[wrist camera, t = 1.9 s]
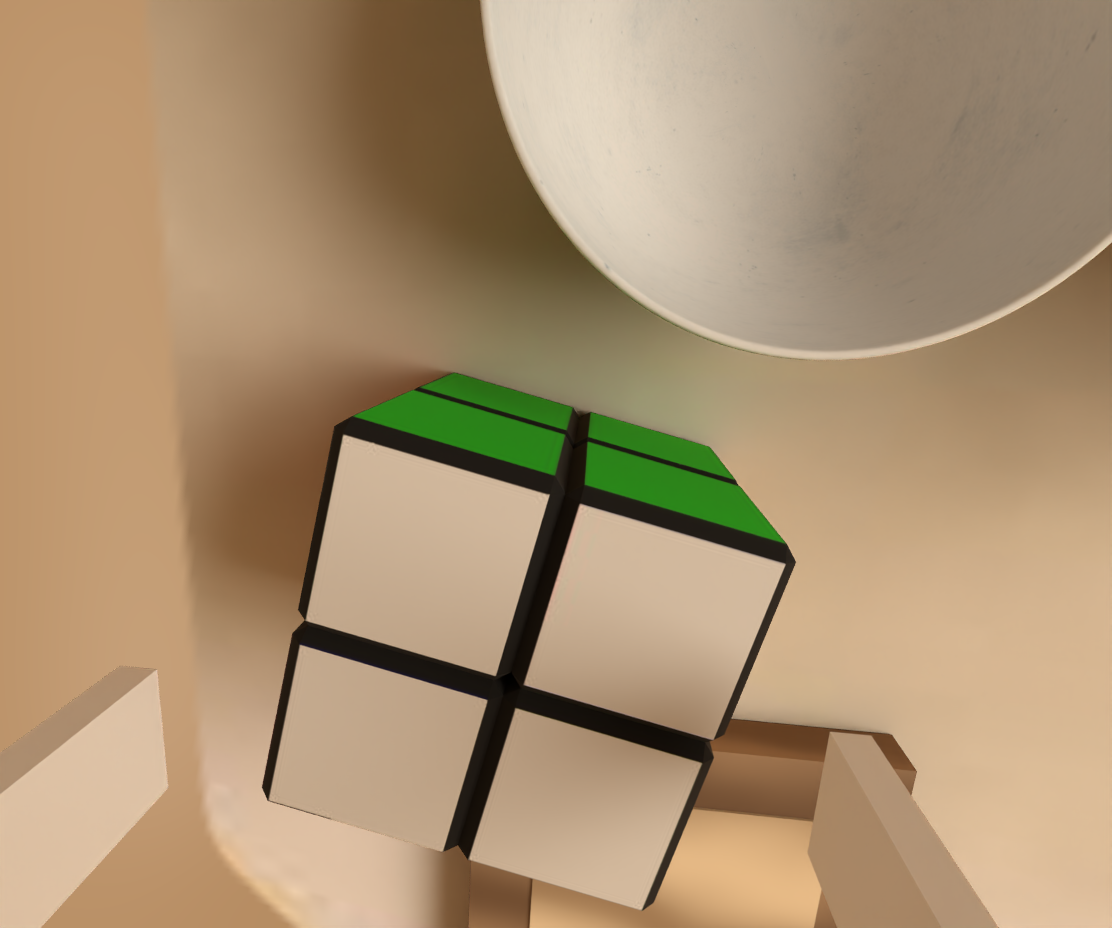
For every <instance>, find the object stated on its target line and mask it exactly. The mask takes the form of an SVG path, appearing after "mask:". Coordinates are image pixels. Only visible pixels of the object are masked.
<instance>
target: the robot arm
mask: <svg viewBox="0 0 1112 928" xmlns="http://www.w3.org/2000/svg"><path fill="white" fill-rule="evenodd" d="M167 788H168V781H167V769H166V759H165V748H164V738H163V727H162V717H161V706H160V695H159V684H158V673H157V669H149V668H138V667H127V666H119V667H118V668H116V669H115V670H113V671H112V672H111V673H109V674H108V675H107V676H105V677H104V678H102V679H101V680H100V681H98V682H97V683H96V684H94V685H93V686H91V687H90V688H89V689H87V690H86V691H85V692H83V693H82V694H81V695H79V696H78V697H76V698H75V699H74V700H72V701H71V702H69V703H68V704H67V705H65V706H64V707H63V708H61V709H60V710H58V711H57V712H56V713H54V714H53V715H52V716H50V717H49V718H48V719H46V720H45V721H43V722H42V723H41V724H39V725H38V726H37V727H35V728H34V729H32V730H31V731H30V732H28V733H27V734H25V735H24V736H23V737H21V738H20V739H19V740H17V741H16V742H14V743H13V744H12V745H10V746H9V747H8V748H6V749H5V750H3V751H2V752H1V753H0V928H41V927H42V926H43V924H44V923H45V922H46V921H47V920H48V919H49V918H50V917H51V916H52V914H53V913H54V912H55V911H56V910H57V909H58V908H59V907H60V906H61V905H62V904H63V903H64V901H65V900H66V899H67V898H68V897H69V896H70V895H71V894H72V893H73V891H74V890H75V889H76V888H77V887H78V886H79V885H80V884H81V883H82V882H83V881H84V880H85V878H86V877H87V876H88V875H89V874H90V873H91V872H92V871H93V870H94V868H95V867H96V866H97V865H98V864H99V863H100V862H101V861H102V860H103V859H104V857H106V855H107V854H108V853H109V852H110V851H111V850H112V849H113V848H114V847H115V846H116V844H117V843H118V842H119V841H120V840H121V839H122V838H123V837H124V836H125V835H126V834H127V832H128V831H129V830H130V829H131V828H132V827H133V826H134V825H135V824H136V823H137V822H138V820H139V819H140V818H141V817H142V816H143V815H144V814H145V813H146V812H147V810H148V809H149V808H150V807H151V806H152V805H153V804H154V803H155V802H156V801H157V800H158V799H159V797H160V796H161V795H162V794H163V793H164V792H165V791H166V789H167ZM807 853H808V856H809V858H810V861H811V863H812V866H813V868H814V871H815V873H816V876H817V878H818V881H819V883H820V886H821V888H822V891H823V894H824V896H825V899H826V901H827V904H828V906H829V909H830V911H831V914H832V916H833V919H834V921H835V924H836V926H837V928H999V927H998V926H997V924H996V923H995V921H994V920H993V918H992V917H991V915H990V914H989V912H988V911H987V909H986V908H985V906H984V905H983V903H982V902H981V900H980V899H979V897H978V896H977V894H976V893H975V891H974V890H973V888H972V887H971V885H970V884H969V882H968V881H967V879H966V878H965V876H964V875H963V873H962V872H961V870H960V869H959V867H958V865H957V864H956V862H955V861H954V859H953V858H952V856H951V855H950V853H949V852H948V850H947V849H946V847H945V846H944V844H943V843H942V841H941V840H940V838H939V837H938V835H937V834H936V832H935V831H934V829H933V828H932V826H931V825H930V823H929V822H928V820H927V819H926V817H925V816H924V814H923V813H922V811H921V810H920V808H919V807H918V805H917V804H916V802H915V801H914V799H913V798H912V796H911V795H910V793H909V792H908V790H907V789H906V787H905V786H904V784H903V783H902V781H901V780H900V778H899V777H898V775H897V774H896V772H895V770H894V769H893V767H892V766H891V764H890V763H889V761H888V760H887V758H886V757H885V755H884V754H883V752H882V751H881V749H880V748H879V746H878V745H877V743H876V742H875V740H874V739H873V737H872V736H871V735H860V734H849V733H839V732H830V734H829V739H828V745H827V750H826V755H825V761H824V766H823V772H822V777H821V782H820V788H819V793H818V798H817V804H816V809H815V815H814V820H813V825H812V831H811V836H810V841H809V847H808V852H807Z"/></svg>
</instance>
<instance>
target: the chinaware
mask: <svg viewBox="0 0 1112 928" xmlns="http://www.w3.org/2000/svg"><path fill="white" fill-rule="evenodd" d="M480 8H481V20H482V28H483V36H484V43H485V49H486V55H487V60H488V65H489V70H490V74H491V79H492V83H493V87H494V91H495V95H496V98H497V102H498V105H499V108H500V111H501V115H502V118H503V120H504V123H505V126H506V129H507V132H508V134H509V137H510V139H511V142H512V144H513V147H514V149H515V152H516V154H517V156H518V158H519V160H520V162H521V165H522V167H523V169H524V171H525V173H526V175H527V176H528V178H529V180H530V182H531V184H532V186H533V188H534V189H535V191H536V193H537V194H538V196H539V198H540V200H541V201H542V203H543V204H544V206H545V207H546V209H547V210H548V212H549V213H550V215H551V216H552V218H553V219H554V221H555V222H556V223H557V225H558V226H559V227H560V229H561V230H562V231H563V233H564V234H565V235H566V236H567V238H568V239H569V240H570V241H571V243H572V244H573V245H574V246H575V247H576V248H577V249H578V251H579V252H580V253H581V254H582V255H583V256H584V257H585V258H586V259H587V260H588V261H589V262H590V263H591V264H592V265H593V266H594V268H596V269H597V270H598V271H599V272H600V273H601V274H602V275H603V276H604V277H605V278H606V279H607V280H609V281H610V282H611V283H612V284H613V285H615V286H616V287H617V288H618V289H619V290H621V291H622V292H623V293H625V294H626V295H627V296H629V297H630V298H631V299H633V300H634V301H635V302H637V303H638V304H640V305H641V306H643V307H644V308H646V309H647V310H649V311H651V312H652V313H654V314H656V315H657V316H659V317H661V318H662V319H664V320H666V321H668V322H670V323H672V324H674V325H675V326H678V327H680V328H682V329H684V330H686V331H688V332H690V333H693V334H695V335H697V336H700V337H702V338H705V339H707V340H710V341H713V342H716V343H719V344H722V345H725V346H728V347H732V348H735V349H739V350H743V351H747V352H751V353H756V354H761V355H767V356H773V357H780V358H788V359H799V360H852V359H862V358H872V357H878V356H885V355H891V354H896V353H901V352H906V351H910V350H914V349H918V348H922V347H926V346H929V345H933V344H936V343H939V342H943V341H946V340H949V339H951V338H954V337H957V336H960V335H963V334H965V333H968V332H970V331H973V330H975V329H978V328H980V327H982V326H984V325H987V324H989V323H991V322H993V321H996V320H998V319H1000V318H1002V317H1004V316H1006V315H1008V314H1010V313H1012V312H1013V311H1015V310H1017V309H1019V308H1021V307H1022V306H1024V305H1026V304H1028V303H1030V302H1031V301H1033V300H1034V299H1036V298H1038V297H1039V296H1041V295H1043V294H1044V293H1046V292H1047V291H1049V290H1050V289H1052V288H1053V287H1055V286H1056V285H1058V284H1059V283H1061V282H1062V281H1064V280H1065V279H1067V278H1068V277H1069V276H1071V275H1072V274H1073V273H1075V272H1076V271H1078V270H1079V269H1080V268H1081V267H1083V266H1084V265H1085V264H1087V263H1088V262H1089V261H1090V260H1092V259H1093V258H1094V257H1095V256H1097V255H1098V254H1099V253H1100V252H1101V251H1102V250H1104V249H1105V248H1106V247H1107V246H1108V245H1109V244H1111V243H1112V0H480Z"/></svg>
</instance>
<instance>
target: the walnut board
mask: <svg viewBox="0 0 1112 928" xmlns="http://www.w3.org/2000/svg"><path fill="white" fill-rule="evenodd" d="M830 732H839V733H849V734H860V735H871V736H872V737H873V739H874V740H875V742H876V743H877V745H878V746H879V748H880V749H881V751H882V752H883V754H884V755H885V757H886V758H887V760H888V761H889V763H890V764H891V766H892V767H893V769H894V770H895V772H896V774H897V775H898V777H899V778H900V780H901V781H902V783H903V784H904V786H905V787H906V789H907V790H908V792H909V793H910V795H911V794H912V790H913V786H914V781H915V777H916V773H917V771H916V769H915V768H914V766H913V765H912V764H911V762H910V761H909V759H908V758H907V756H906V755H905V753H904V752H903V750H902V749H901V748H900V746H899V745H898V743H897V742H896V740H895V739H894V737H893V736H892V735H890V734H880V733H870V732H859V731H849V730H839V729H828V728H818V727H808V726H797V725H787V724H777V723H766V722H756V721H746V720H735V719H731V720H730V722H729V725H728V727H727V729H726V732H725V734H724V735H723V736H721V737H719V738H717V739H715V740H713V741H710V744H711V748H712V752H713V756H714V759H713V762H712V764H711V766H710V769H709V771H708V774H707V776H706V778H705V781H704V783H703V786H702V788H701V790H700V793H699V795H698V798H697V800H696V802H695V805H694V807H693V810H692V812H691V815H690V817H689V819H688V822H687V824H686V827H685V829H684V831H683V834H682V836H681V839H680V841H679V843H678V846H677V848H676V851H675V853H674V855H673V858H672V860H671V863H670V865H669V868H668V870H667V872H666V875H665V877H664V880H663V882H662V884H661V887H660V889H659V892H658V894H657V896H656V899H655V901H654V903H653V904H651V905H650V906H649V907H647V908H646V909H645V910H643V911H640V910H637V909H633V908H630V907H627V906H623V905H620V904H617V903H613V902H610V901H606V900H603V899H600V898H596V897H593V896H589V895H586V894H583V893H579V892H576V891H572V890H569V889H566V888H562V887H559V886H555V885H552V884H549V883H545V882H542V881H538V880H535V879H532V878H528V877H525V876H521V875H518V874H515V873H511V872H508V871H504V870H501V869H498V868H494V867H491V866H487V865H484V864H481V863H477V862H474V861H471V867H470V895H469V924H468V928H837V926H836V924H835V921H834V919H833V916H832V914H831V911H830V909H829V906H828V904H827V901H826V899H825V896H824V894H823V891H822V888H821V886H820V883H819V881H818V878H817V876H816V873H815V871H814V868H813V866H812V863H811V861H810V858H809V856H808V853H807V852H808V847H809V841H810V836H811V831H812V825H813V820H814V815H815V809H816V804H817V798H818V793H819V788H820V782H821V777H822V772H823V766H824V761H825V755H826V750H827V745H828V739H829V734H830Z"/></svg>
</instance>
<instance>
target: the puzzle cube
mask: <svg viewBox="0 0 1112 928" xmlns="http://www.w3.org/2000/svg"><path fill="white" fill-rule="evenodd" d="M795 563H796V561H795V559H794V557H793V555H792V553H791V551H790V549H789V547H788V545H787V544H786V543H785V541H784V540H783V539H782V538H781V536H780V535H779V534H778V533H777V531H776V530H775V529H774V528H773V526H772V525H771V524H770V523H769V522H768V520H767V519H766V518H765V517H764V515H763V514H762V513H761V512H760V510H759V509H758V508H757V507H756V506H755V504H754V503H753V502H752V501H751V499H750V498H749V497H748V496H747V494H746V493H745V492H744V491H743V489H742V488H741V487H740V486H738V484H737V482H736V480H735V479H734V477H733V476H732V475H731V474H730V472H729V471H728V470H727V468H726V467H725V466H724V465H723V463H722V462H721V461H720V459H719V458H718V457H717V456H716V454H715V453H714V452H713V450H712V449H711V448H710V447H708V446H705V445H701V444H698V443H695V442H691V441H688V440H684V439H681V438H678V437H674V436H671V435H667V434H664V433H660V432H657V431H654V430H650V429H647V428H643V427H640V426H637V425H633V424H630V423H626V422H623V421H620V420H616V419H613V418H609V417H606V416H602V415H599V414H596V413H592V412H590V413H588V414H586V415H584V416H582V417H580V418H579V417H578V415H577V413H576V412H575V410H574V408H573V407H570V406H567V405H563V404H560V403H556V402H553V401H550V400H546V399H543V398H539V397H536V396H533V395H529V394H526V393H522V392H519V391H516V390H512V389H509V388H505V387H502V386H498V385H495V384H492V383H488V382H485V381H481V380H478V379H475V378H471V377H468V376H464V375H461V374H458V373H452V374H449V375H447V376H444V377H442V378H440V379H437V380H435V381H433V382H430V383H428V384H425V385H423V386H421V387H418V388H417V389H415V390H412V391H409V392H407V393H405V394H402V395H400V396H398V397H395V398H393V399H391V400H388V401H386V402H384V403H381V404H379V405H377V406H375V407H372V408H370V409H368V410H365V411H363V412H361V413H358V414H356V415H354V416H352V417H350V418H348V419H346V420H345V421H343V422H341V423H339V424H338V425H336V426H334V431H333V436H332V441H331V447H330V452H329V457H328V462H327V467H326V472H325V477H324V482H323V487H322V492H321V497H320V502H319V507H318V512H317V517H316V522H315V527H314V532H313V537H312V542H311V547H310V553H309V558H308V563H307V568H306V573H305V578H304V583H303V588H302V593H301V598H300V603H299V608H298V610H299V612H300V613H301V615H302V616H303V618H304V619H305V621H304V622H303V623H302V624H301V625H300V626H299V627H298V628H297V629H296V630H295V631H294V632H293V633H292V638H291V643H290V648H289V653H288V658H287V663H286V668H285V673H284V679H283V684H282V689H281V694H280V699H279V704H278V709H277V714H276V719H275V724H274V729H273V734H272V739H271V744H270V749H269V754H268V759H267V765H266V770H265V775H264V780H263V785H262V788H263V791H264V793H265V795H266V798H267V800H268V801H270V802H273V803H277V804H280V805H284V806H287V807H290V808H294V809H297V810H301V811H304V812H307V813H311V814H314V815H318V816H321V817H324V818H328V819H331V820H335V821H338V822H341V823H345V824H348V825H352V826H355V827H358V828H362V829H365V830H369V831H372V832H375V833H379V834H382V835H386V836H389V837H392V838H396V839H399V840H403V841H406V842H409V843H413V844H416V845H420V846H423V847H426V848H430V849H433V850H437V851H440V852H444V851H446V850H448V849H450V848H453V847H455V846H457V845H458V846H459V847H460V849H461V850H462V852H463V853H464V855H465V856H466V858H467V859H468V860H470V861H474V862H477V863H481V864H484V865H487V866H491V867H494V868H498V869H501V870H504V871H508V872H511V873H515V874H518V875H521V876H525V877H528V878H532V879H535V880H538V881H542V882H545V883H549V884H552V885H555V886H559V887H562V888H566V889H569V890H572V891H576V892H579V893H583V894H586V895H589V896H593V897H596V898H600V899H603V900H606V901H610V902H613V903H617V904H620V905H623V906H627V907H630V908H633V909H637V910H640V911H643V910H645V909H646V908H647V907H649V906H650V905H651V904H653V903H654V901H655V899H656V896H657V894H658V892H659V889H660V887H661V884H662V882H663V880H664V877H665V875H666V872H667V870H668V868H669V865H670V863H671V860H672V858H673V855H674V853H675V851H676V848H677V846H678V843H679V841H680V839H681V836H682V834H683V831H684V829H685V827H686V824H687V822H688V819H689V817H690V815H691V812H692V810H693V807H694V805H695V802H696V800H697V798H698V795H699V793H700V790H701V788H702V786H703V783H704V781H705V778H706V776H707V774H708V771H709V769H710V766H711V764H712V762H713V759H714V756H713V752H712V748H711V744H710V741H713V740H715V739H717V738H719V737H721V736H723V735H724V734H725V732H726V729H727V727H728V725H729V722H730V720H731V717H732V715H733V713H734V710H735V708H736V705H737V703H738V701H739V698H740V696H741V693H742V691H743V689H744V686H745V684H746V681H747V679H748V676H749V674H750V672H751V669H752V667H753V664H754V662H755V660H756V657H757V655H758V652H759V650H760V648H761V645H762V643H763V640H764V638H765V636H766V633H767V631H768V628H769V626H770V624H771V621H772V619H773V616H774V614H775V612H776V609H777V607H778V604H779V602H780V599H781V597H782V595H783V592H784V590H785V587H786V585H787V583H788V580H789V578H790V575H791V573H792V571H793V568H794V566H795Z"/></svg>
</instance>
